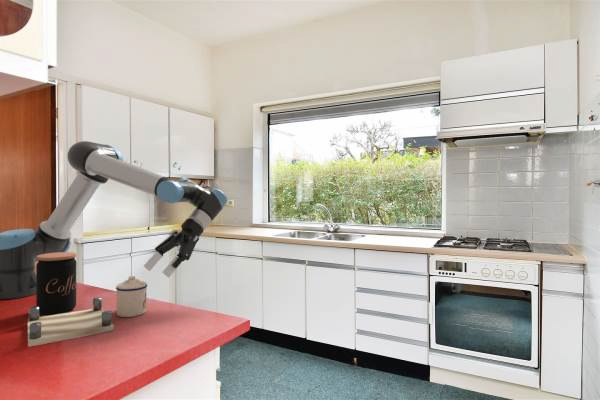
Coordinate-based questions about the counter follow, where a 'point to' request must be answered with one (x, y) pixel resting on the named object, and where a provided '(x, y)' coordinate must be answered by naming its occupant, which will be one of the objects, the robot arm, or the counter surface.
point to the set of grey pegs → (36, 327)
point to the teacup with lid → (131, 297)
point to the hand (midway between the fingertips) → (155, 271)
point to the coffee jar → (56, 283)
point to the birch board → (69, 326)
